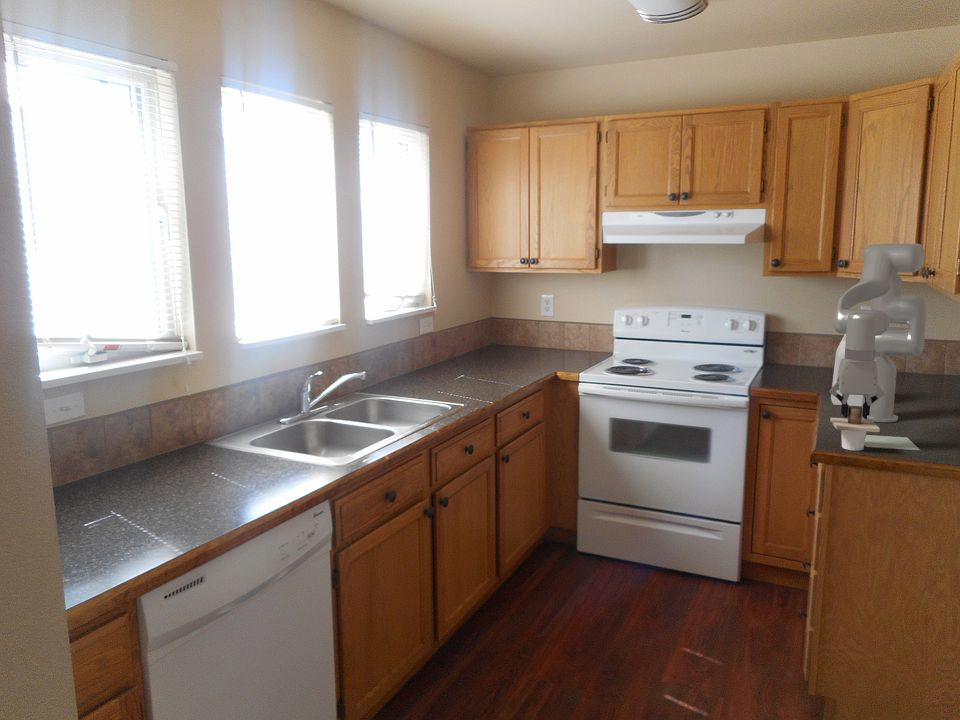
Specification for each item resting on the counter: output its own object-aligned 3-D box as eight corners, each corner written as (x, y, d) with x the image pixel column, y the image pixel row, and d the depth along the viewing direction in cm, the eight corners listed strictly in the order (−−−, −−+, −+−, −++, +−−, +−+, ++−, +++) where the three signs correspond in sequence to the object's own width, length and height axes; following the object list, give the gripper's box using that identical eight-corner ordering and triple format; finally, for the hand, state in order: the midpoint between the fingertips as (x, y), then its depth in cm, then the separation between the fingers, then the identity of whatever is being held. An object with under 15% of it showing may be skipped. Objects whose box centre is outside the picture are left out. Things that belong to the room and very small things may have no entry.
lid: (830, 420, 215) (831, 402, 214) (871, 422, 212) (872, 404, 211) (836, 429, 205) (837, 411, 204) (879, 432, 202) (881, 413, 201)
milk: (833, 404, 267) (837, 335, 262) (830, 398, 277) (835, 331, 273) (869, 406, 262) (874, 336, 258) (865, 400, 273) (870, 332, 269)
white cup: (842, 444, 214) (844, 422, 213) (868, 448, 210) (869, 425, 209) (836, 450, 209) (838, 426, 208) (862, 454, 205) (864, 430, 204)
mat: (856, 436, 224) (856, 434, 224) (907, 439, 220) (907, 437, 219) (866, 448, 210) (866, 446, 210) (920, 451, 206) (920, 450, 206)
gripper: (889, 354, 206) (884, 416, 209) (824, 352, 211) (821, 412, 214) (895, 358, 199) (890, 422, 202) (829, 356, 204) (825, 418, 207)
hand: (854, 416), depth 208 cm, fingers open, 4 cm apart
